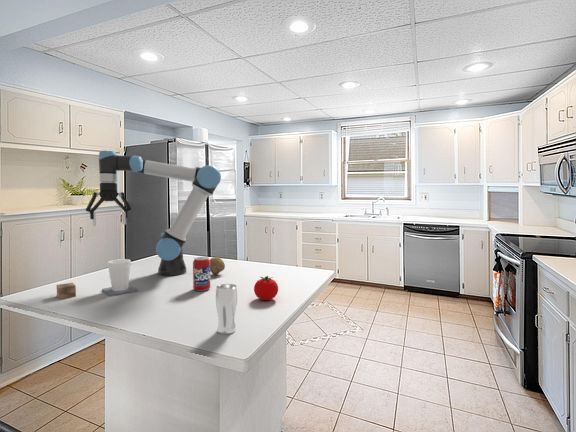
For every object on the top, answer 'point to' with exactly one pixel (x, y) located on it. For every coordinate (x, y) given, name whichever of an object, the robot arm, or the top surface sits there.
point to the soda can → (201, 274)
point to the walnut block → (66, 290)
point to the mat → (113, 293)
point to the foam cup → (119, 273)
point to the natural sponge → (216, 265)
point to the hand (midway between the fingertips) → (109, 225)
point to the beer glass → (226, 307)
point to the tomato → (266, 288)
